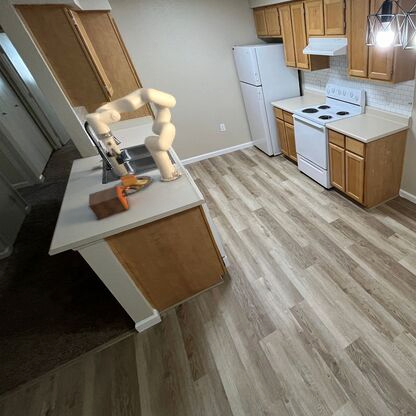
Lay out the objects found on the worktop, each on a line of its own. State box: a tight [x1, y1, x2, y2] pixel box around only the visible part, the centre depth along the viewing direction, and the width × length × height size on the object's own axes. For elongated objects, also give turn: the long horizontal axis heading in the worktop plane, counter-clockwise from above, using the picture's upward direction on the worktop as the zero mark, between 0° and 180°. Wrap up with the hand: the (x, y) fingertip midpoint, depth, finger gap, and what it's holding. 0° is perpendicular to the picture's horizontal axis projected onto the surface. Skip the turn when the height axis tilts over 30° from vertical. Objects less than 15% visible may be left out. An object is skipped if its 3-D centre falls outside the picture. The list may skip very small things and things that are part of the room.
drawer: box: [117, 186, 129, 210], centre depth 164 cm, size 17×16×10 cm
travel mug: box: [105, 151, 129, 178], centre depth 198 cm, size 6×7×20 cm
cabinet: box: [88, 185, 127, 221], centre depth 163 cm, size 14×17×10 cm
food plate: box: [113, 175, 153, 195], centre depth 186 cm, size 25×23×4 cm
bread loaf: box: [119, 173, 138, 186], centre depth 184 cm, size 8×5×6 cm, turn 126°
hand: (121, 163), depth 164 cm, fingers closed
